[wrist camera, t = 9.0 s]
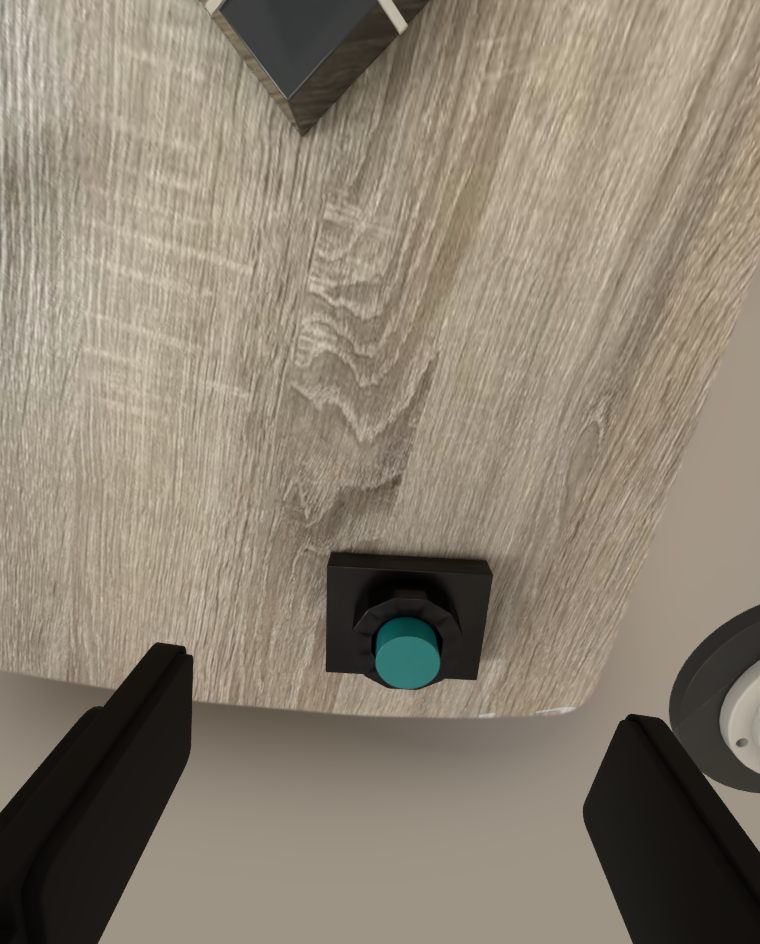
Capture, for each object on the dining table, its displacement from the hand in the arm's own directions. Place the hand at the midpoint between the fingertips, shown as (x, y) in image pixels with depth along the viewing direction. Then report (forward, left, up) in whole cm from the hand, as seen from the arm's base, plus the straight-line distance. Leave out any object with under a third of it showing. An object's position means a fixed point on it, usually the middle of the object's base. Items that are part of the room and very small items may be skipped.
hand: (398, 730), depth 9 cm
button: (-6, +7, -13) cm, 16 cm away
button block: (-6, +7, -16) cm, 19 cm away
